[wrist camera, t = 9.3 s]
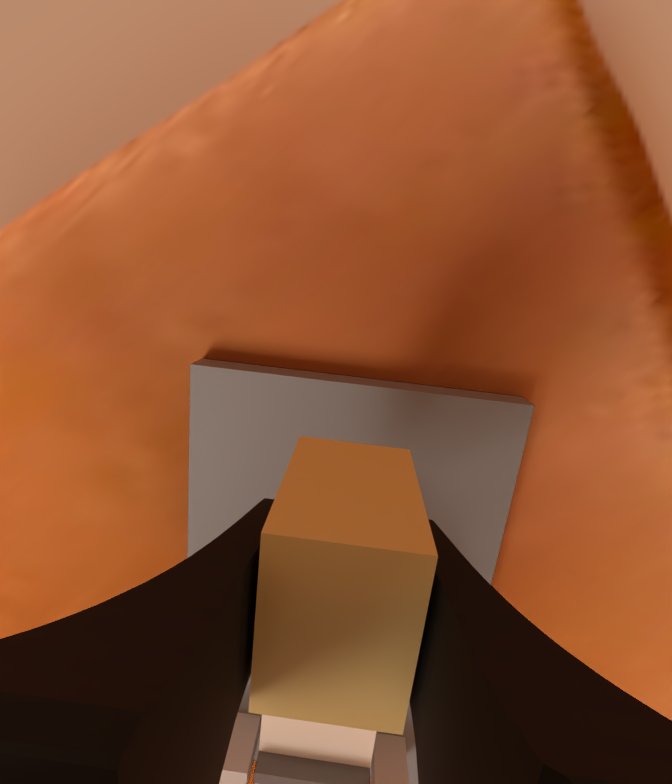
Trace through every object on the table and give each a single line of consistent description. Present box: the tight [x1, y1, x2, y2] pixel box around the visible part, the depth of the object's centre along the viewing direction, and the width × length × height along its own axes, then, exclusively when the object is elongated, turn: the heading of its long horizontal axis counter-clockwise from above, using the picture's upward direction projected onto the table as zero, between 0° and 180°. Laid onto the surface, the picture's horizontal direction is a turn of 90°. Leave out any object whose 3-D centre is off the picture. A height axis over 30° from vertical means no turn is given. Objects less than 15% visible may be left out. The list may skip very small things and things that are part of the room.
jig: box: [187, 358, 534, 784], centre depth 18 cm, size 20×13×4 cm, turn 174°
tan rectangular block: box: [248, 436, 438, 735], centre depth 10 cm, size 4×3×5 cm
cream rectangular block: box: [253, 715, 377, 784], centre depth 17 cm, size 12×4×5 cm, turn 174°
